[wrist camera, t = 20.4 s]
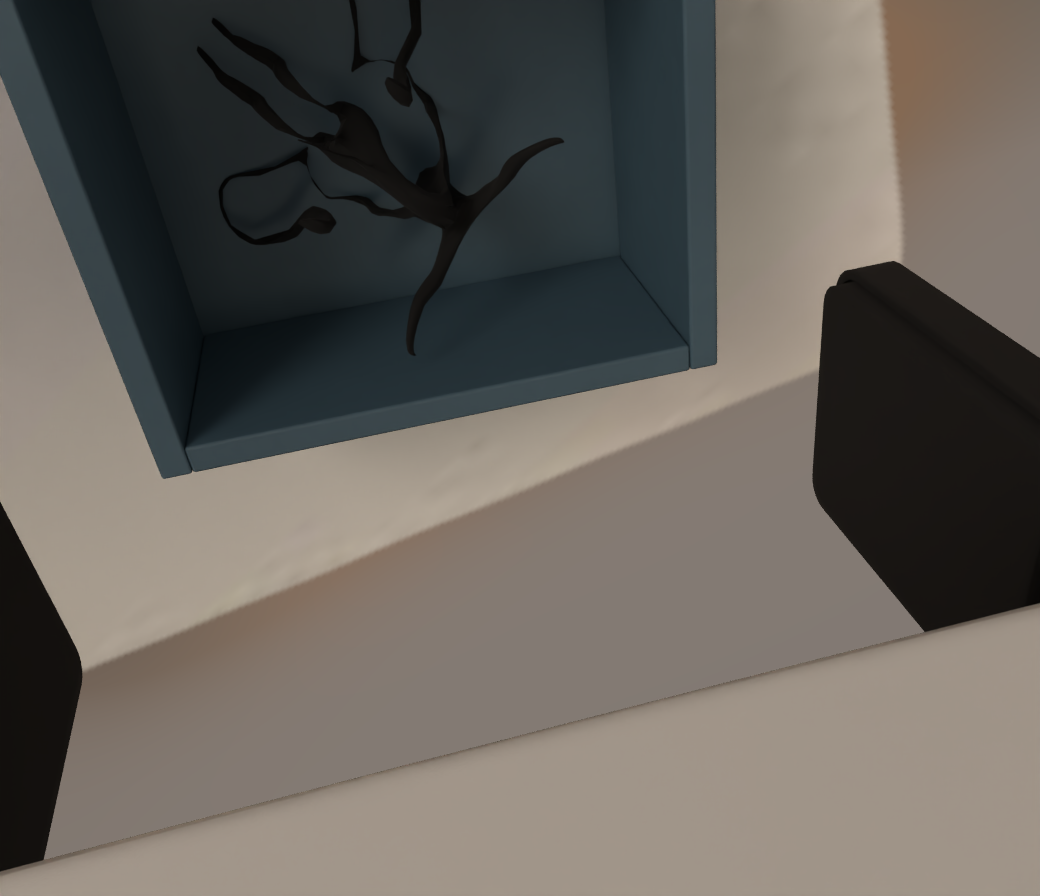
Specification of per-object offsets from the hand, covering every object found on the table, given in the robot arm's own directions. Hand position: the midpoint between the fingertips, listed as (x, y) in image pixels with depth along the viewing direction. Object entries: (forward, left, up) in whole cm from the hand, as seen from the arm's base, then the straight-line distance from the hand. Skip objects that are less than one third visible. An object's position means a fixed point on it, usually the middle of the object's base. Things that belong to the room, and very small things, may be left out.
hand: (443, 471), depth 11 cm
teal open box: (+1, 0, -17) cm, 17 cm away
